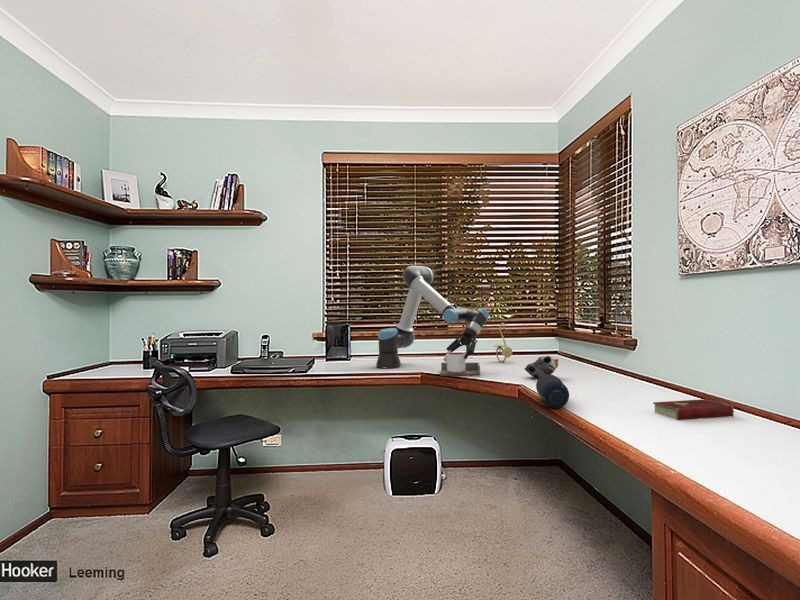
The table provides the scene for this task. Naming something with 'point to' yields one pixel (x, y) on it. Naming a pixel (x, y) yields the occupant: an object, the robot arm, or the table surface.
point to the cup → (455, 363)
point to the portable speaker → (552, 391)
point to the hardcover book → (693, 409)
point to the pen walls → (468, 366)
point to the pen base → (467, 372)
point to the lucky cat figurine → (542, 366)
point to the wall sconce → (506, 351)
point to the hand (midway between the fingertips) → (452, 361)
